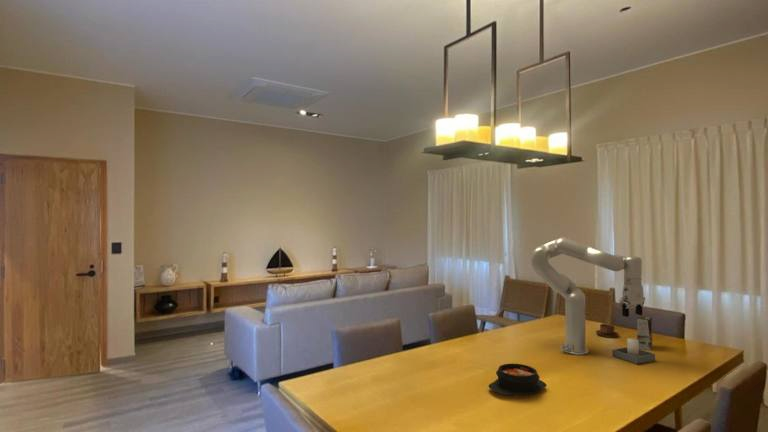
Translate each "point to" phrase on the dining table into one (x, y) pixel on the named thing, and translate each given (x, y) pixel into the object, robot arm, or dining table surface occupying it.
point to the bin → (643, 356)
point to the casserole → (517, 380)
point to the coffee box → (644, 332)
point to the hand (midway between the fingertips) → (632, 315)
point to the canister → (633, 347)
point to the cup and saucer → (607, 331)
